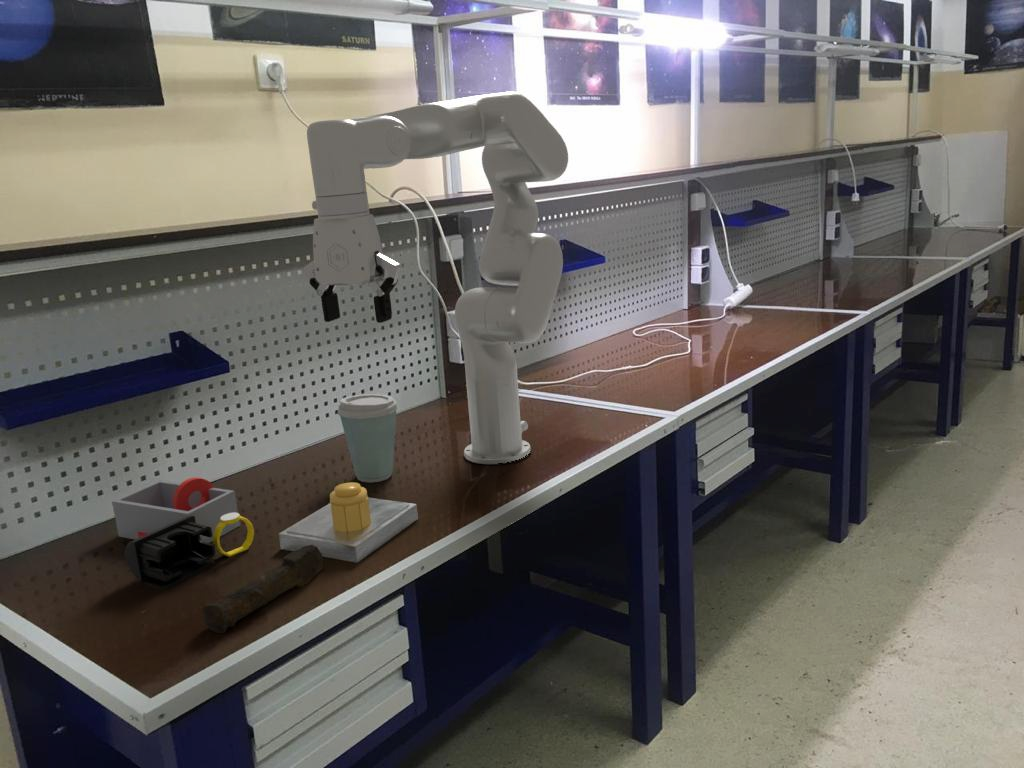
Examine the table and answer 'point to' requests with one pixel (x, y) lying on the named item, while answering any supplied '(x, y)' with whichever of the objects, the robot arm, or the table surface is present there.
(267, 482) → the table surface
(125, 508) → the parts corral
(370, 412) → the disposable coffee cup
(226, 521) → the watch
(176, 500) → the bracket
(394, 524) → the plate
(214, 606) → the dark brown wood branch
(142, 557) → the end cap
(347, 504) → the wire nut
